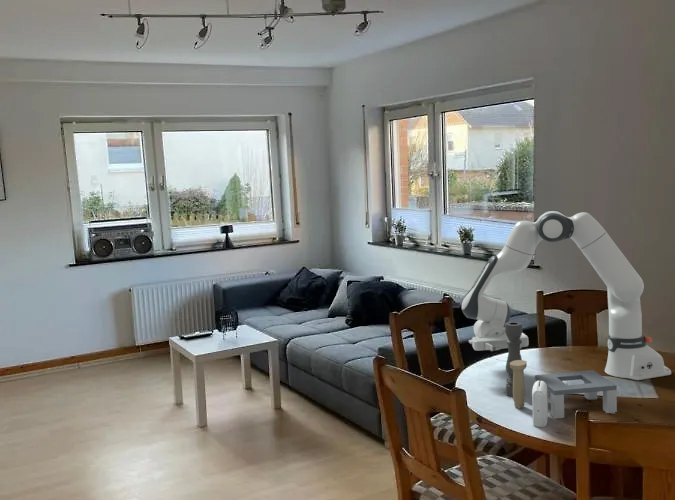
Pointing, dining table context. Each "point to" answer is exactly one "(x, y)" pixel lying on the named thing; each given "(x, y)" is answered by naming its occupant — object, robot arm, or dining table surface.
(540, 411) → the photo printer
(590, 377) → the hole stand
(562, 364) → the dining table surface
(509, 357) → the candle holder
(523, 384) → the handle
